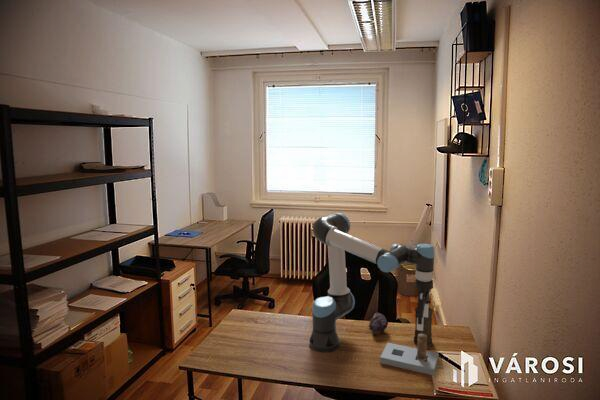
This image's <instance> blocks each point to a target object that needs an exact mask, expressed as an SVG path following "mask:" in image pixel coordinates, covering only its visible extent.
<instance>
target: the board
mask: <svg viewBox="0 0 600 400" xmlns="http://www.w3.org/2000/svg"><path fill="white" fill-rule="evenodd" d="M379 358H380V359H379V361H380V362H379V364H382V365H387V366H392V367H396V368H401V369H404V370H408V371H413V372H417V373H421V374H426V375H430V376H435V373H436V369H437V366H436V365H438V362H437V361H439V352H434V351H430V350H426V362H425V361H420V360H417V348H415V347H411V346H407V345H401V344H396V343H390V342H387V343H386V345H385V347H384V349H383V351H382V353H381V354H380V357H379Z"/></svg>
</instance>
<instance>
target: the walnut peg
mask: <svg viewBox="0 0 600 400" xmlns="http://www.w3.org/2000/svg"><path fill="white" fill-rule="evenodd" d="M416 347H417V348H416V349H417V360H420V361H425V362H426V351H428V350H427V348H428V347H427V335H425V334H418V345H416Z"/></svg>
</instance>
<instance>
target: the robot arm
mask: <svg viewBox="0 0 600 400" xmlns="http://www.w3.org/2000/svg"><path fill="white" fill-rule="evenodd" d="M350 230H351V221H350V219H349V217H348V216H346V215H345V214H344V213H343V212H342V213H341V212H335V213H334V212H333V213H331V214H328V215H326V216H321V217H319V218H317V219H316V220H315V221H314V223H313V226H312V234H313V236H314V238H315V239H316V240H317V241H319V242H320V243H322V244H324V245H326V246H327V256H328V270H329V271H328V273H329V274H328V275H329V289H328V290H327V296H320V297H317V298H316V299H315V300H314V301H313V302H312V306H311V307H312V308H311V314H312V315H311V316H312V318H311V319H312V330H311V334H310V337H309V347H310V348H311V349H313V350H314V351H316V352H320V353H328V352H329V353H330V352H333V351H336V350H337V349H338V348H340V338H339V334H338V332H337V321H338V320H339V319H341V318H342V317H344V316H345V315H347V314H349V313H350V312H351V311H352V310H353V309H354V308H355V304H356V300H355V296H354V295H353V293H352V292H351V289H350V288H349V287H347V284H348V283H347V267H346V252H348V253H350V254H352V255H353V256H354V255H355V256H357V257H359V258H361V259H364V260H367V261H368V262H371V263H373V264H375V265H377V268H378V269H380V271H381V272H383V273H390V272H392V271H395V270H396V269H398V268H399V267H401V266H403V265H404V264H412V265H415V277H414V278H415V282H414V286H415V287H416V289H418V290H419V291H418V294H417V295H418V296H417V298H418V299H417V306H416V307H417V314H416V313H415V315H414V317H415V316H416V317H417V330H420V331H423V322H424V317H427V318H428V309H429V308H430V304H431V300H430V290H432V289H433V287H434V280H433V279H434V276H435V275H436V274H435V272H434V267H435V266H434V265H435V257H436V256H435V247H434V246H433V245H432V244H429V243H418V244H417V245H416V247H415V246H409V245H404V244H401V243H400V244H399V243H393V244H392V245H391V247H390V249H389V250H387V249H385V248H382V247H381V246H377V245H375V244H373V243H371V242H368V241H366V240H363V239H361V238H358V237H356V236H354V235H352V234H349V232H350ZM345 251H346V252H345ZM416 317H415V318H416Z"/></svg>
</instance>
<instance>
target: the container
mask: <svg viewBox="0 0 600 400" xmlns="http://www.w3.org/2000/svg"><path fill="white" fill-rule="evenodd" d="M433 311H434V310H433V308H431V307H429V309H428V318H427V317H424V322H423V331H420V330H417V317H416V316H415V315H416V314H417V306H416V307H415V309H414V312H415V315H414V317H415V330H414V336H413V343H414V344H415V345H416V346H418V334H425V335H427V348H429V347H432V346H433V338H432V335H433V334H432V333H433V332H432V325H433V324H432V322H433V321H432V319H433V318H432V316H433V313H434V312H433Z"/></svg>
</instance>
